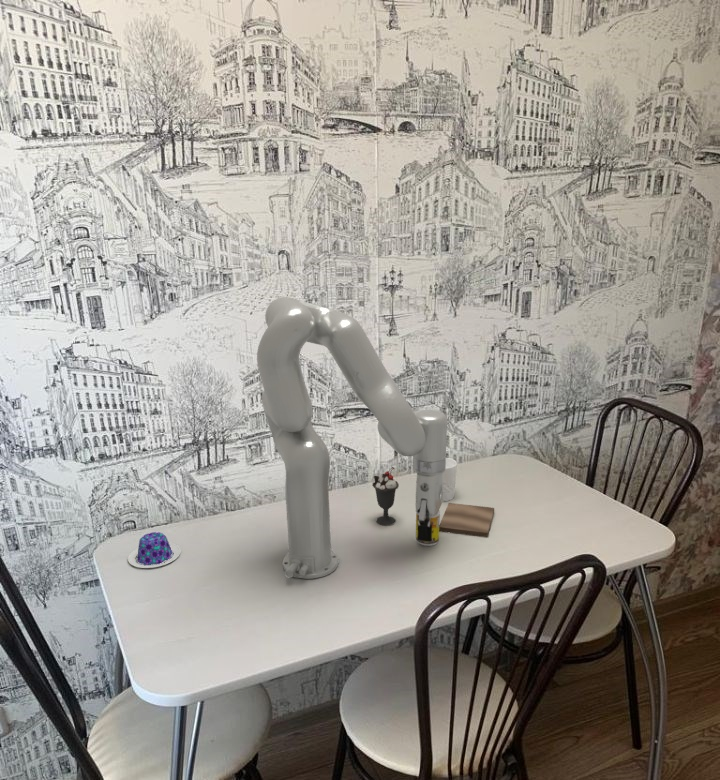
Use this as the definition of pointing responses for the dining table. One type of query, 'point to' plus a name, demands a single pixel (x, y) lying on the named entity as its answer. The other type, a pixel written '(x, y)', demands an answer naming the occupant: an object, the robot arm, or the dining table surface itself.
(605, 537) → the dining table surface
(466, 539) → the dining table surface
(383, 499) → the sundae
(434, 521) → the supplement bottle
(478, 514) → the walnut board
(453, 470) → the white cup
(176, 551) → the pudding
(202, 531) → the dining table surface
